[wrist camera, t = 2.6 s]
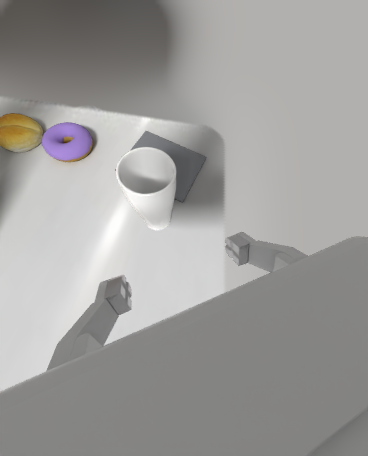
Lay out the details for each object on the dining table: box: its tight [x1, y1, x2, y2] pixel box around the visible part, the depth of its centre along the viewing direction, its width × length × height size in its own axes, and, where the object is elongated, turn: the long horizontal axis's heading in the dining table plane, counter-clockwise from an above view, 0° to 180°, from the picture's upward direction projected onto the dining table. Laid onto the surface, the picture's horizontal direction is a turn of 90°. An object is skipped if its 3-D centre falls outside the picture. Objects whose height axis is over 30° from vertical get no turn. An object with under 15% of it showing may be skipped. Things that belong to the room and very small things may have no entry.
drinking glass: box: [116, 147, 176, 230], centre depth 23 cm, size 7×7×15 cm
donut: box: [42, 122, 93, 162], centre depth 32 cm, size 10×9×5 cm
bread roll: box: [0, 113, 43, 152], centre depth 31 cm, size 8×9×4 cm
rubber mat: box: [115, 131, 206, 202], centre depth 34 cm, size 17×14×1 cm
